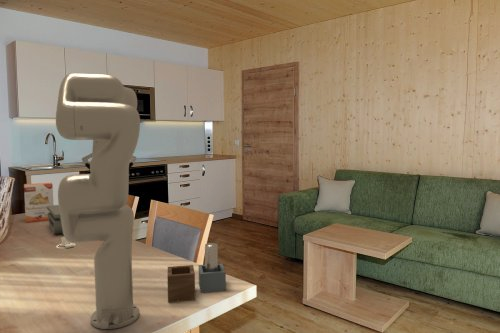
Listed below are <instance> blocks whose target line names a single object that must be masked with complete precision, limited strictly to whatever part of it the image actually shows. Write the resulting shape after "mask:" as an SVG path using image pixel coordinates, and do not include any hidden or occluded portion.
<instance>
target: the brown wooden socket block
mask: <svg viewBox="0 0 500 333" xmlns="http://www.w3.org/2000/svg"><path fill="white" fill-rule="evenodd" d="M195 274H196V273H195V267H194V264H190V265H188V264H187V265H176V266H167V303H174V302H175V303H179V302H186V301H187V302H189V301H196V275H195Z"/></svg>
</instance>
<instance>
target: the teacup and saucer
mask: <svg viewBox="0 0 500 333" xmlns="http://www.w3.org/2000/svg"><path fill="white" fill-rule="evenodd" d="M69 243H70V244H69ZM59 245H60V246H62V247H60V246H59ZM58 246H59V247H58ZM64 246H65V247H64ZM75 246H77V245H76V243H72V242H69V241H67V240H66V239H65V237H64V236H62V237H61V243H60V244H57V245H56V246H55V248H57V249H61V250H62V249H63V247H64V249H69V248H73V247H75Z"/></svg>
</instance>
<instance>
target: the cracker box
mask: <svg viewBox="0 0 500 333" xmlns="http://www.w3.org/2000/svg"><path fill="white" fill-rule="evenodd" d="M53 188H54V187H53V182H39V183H38V182H37V183H24V184H23V190H24V191H23V192H24V193H23V194H24V196H23V198H24V213H25V214H24V215H25V223H34V222H35V223H36V222H46V221H49V220H48V213H49V211H48V209H47V206H53V205H54V189H53Z"/></svg>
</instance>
